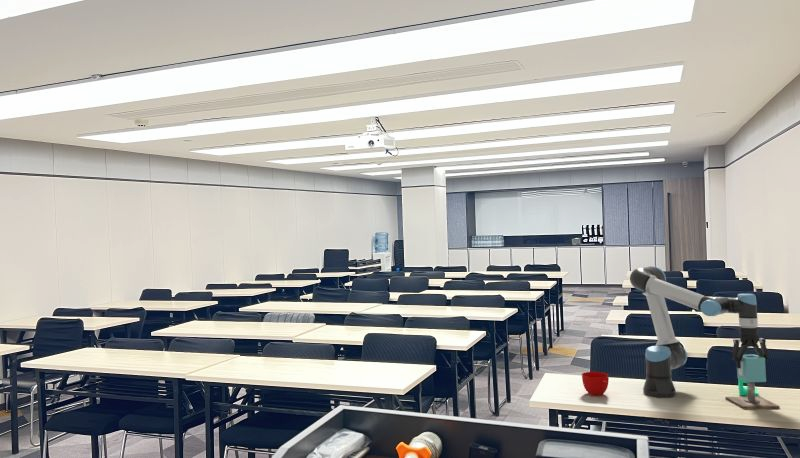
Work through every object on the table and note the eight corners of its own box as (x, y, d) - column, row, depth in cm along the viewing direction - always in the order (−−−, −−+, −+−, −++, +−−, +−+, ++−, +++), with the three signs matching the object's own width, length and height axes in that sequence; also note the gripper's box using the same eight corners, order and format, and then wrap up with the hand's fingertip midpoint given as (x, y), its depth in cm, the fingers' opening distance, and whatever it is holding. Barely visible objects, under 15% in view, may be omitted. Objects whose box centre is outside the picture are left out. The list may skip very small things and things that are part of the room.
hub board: (743, 409, 259) (742, 383, 259) (725, 399, 274) (724, 375, 275) (779, 408, 258) (778, 383, 258) (759, 398, 274) (758, 374, 274)
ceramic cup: (595, 400, 278) (594, 380, 279) (577, 392, 295) (577, 372, 295) (619, 398, 281) (618, 378, 281) (600, 389, 298) (599, 370, 298)
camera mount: (758, 398, 274) (757, 377, 274) (740, 397, 278) (739, 376, 278) (756, 392, 285) (755, 372, 285) (738, 391, 288) (737, 370, 288)
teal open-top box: (737, 378, 270) (736, 354, 271) (755, 377, 270) (754, 353, 270) (747, 382, 262) (745, 357, 262) (766, 381, 261) (764, 357, 262)
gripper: (729, 328, 264) (732, 377, 263) (776, 327, 262) (779, 376, 262) (721, 326, 271) (723, 373, 270) (767, 324, 270) (769, 372, 269)
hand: (751, 374), depth 266 cm, fingers closed on teal open-top box, 8 cm apart
